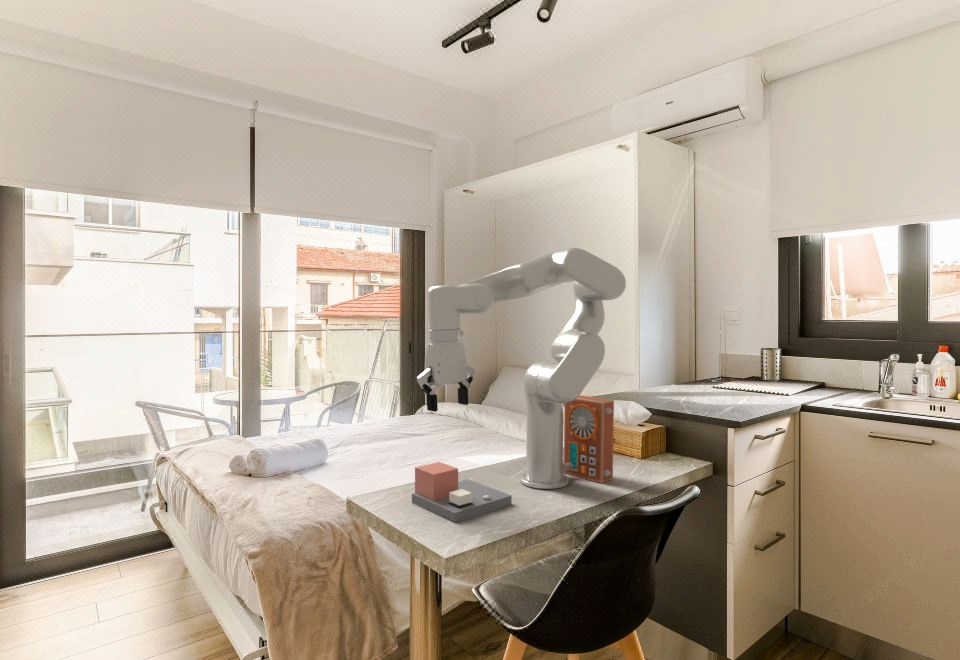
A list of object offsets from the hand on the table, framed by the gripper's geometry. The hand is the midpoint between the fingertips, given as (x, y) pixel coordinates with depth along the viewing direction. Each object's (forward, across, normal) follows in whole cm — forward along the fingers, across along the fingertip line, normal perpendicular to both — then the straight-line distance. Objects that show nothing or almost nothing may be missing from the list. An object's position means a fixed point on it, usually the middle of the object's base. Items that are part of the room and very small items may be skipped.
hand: (448, 407), depth 132 cm
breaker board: (+22, +2, +6) cm, 22 cm away
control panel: (+24, -37, +13) cm, 46 cm away
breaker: (+19, +6, +10) cm, 22 cm away
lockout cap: (+19, +6, +1) cm, 20 cm away
